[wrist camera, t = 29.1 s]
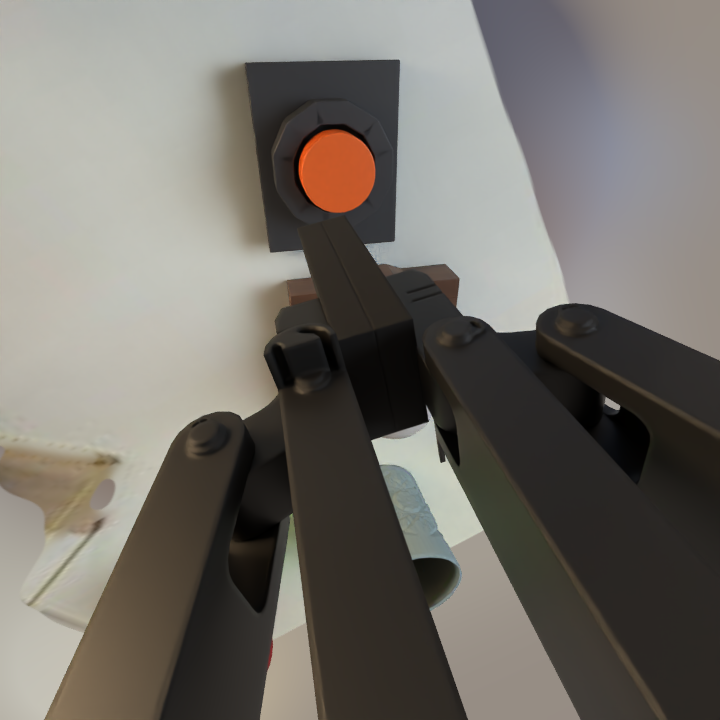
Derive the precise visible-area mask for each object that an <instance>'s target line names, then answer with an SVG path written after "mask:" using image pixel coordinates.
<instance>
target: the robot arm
mask: <svg viewBox="0 0 720 720" xmlns="http://www.w3.org/2000/svg"><path fill="white" fill-rule="evenodd" d="M297 230H298V234H299V237H300V240H301V244H302V247H303V251H304V254H305V257H306V261H307V264H308V267H309V271H310V274H311V278H312V281H313V284H314V288H315V291H316V294H317V298H316V299H313V300H309V301H306V302H302V303H299V304H296V305H292V306H289V307H285V308H282V309H281V310H280V312H279V314H278V316H277V318H276V320H275V325H276V332H277V335H276V336H275V337H273V338H272V339H271V340H270V342H269V343H268V344H267V345H266V347H265V351H264V357H265V360H266V362H267V364H268V367H269V369H270V372H271V374H272V376H273V379H274V381H275V384H276V386H277V388H278V393H279V394H278V395H277V396H276V398H275V399H274V400H273V401H272V402H271V403H270V404H269V405H268V406H266V407H265V408H263V409H262V410H260V411H259V412H257V413H255V414H253V415H252V416H250V417H248V418H246V419H245V420H242V419H241V417H240V416H239V415H237V414H234V413H232V412H215V413H211V414H208V415H204V416H202V417H200V418H198V419H197V420H195V421H193V422H191V423H190V424H188V425H187V426H186V427H185V428H184V429H183V430H182V431H180V432H179V434H178V435H177V436H176V438H175V439H174V441H173V442H172V444H171V446H170V448H169V450H168V453H167V455H166V457H165V459H164V461H163V463H162V466H161V468H160V470H159V472H158V474H157V476H156V479H155V481H154V483H153V485H152V487H151V489H150V492H149V494H148V496H147V498H146V500H145V502H144V505H143V507H142V509H141V511H140V513H139V515H138V518H137V520H136V522H135V524H134V526H133V528H132V531H131V533H130V535H129V537H128V539H127V541H126V544H125V546H124V548H123V550H122V552H121V554H120V557H119V559H118V561H117V563H116V565H115V567H114V570H113V572H112V574H111V576H110V578H109V580H108V583H107V585H106V587H105V589H104V591H103V593H102V596H101V598H100V600H99V602H98V604H97V606H96V609H95V611H94V613H93V615H92V617H91V619H90V622H89V624H88V626H87V628H86V630H85V632H84V635H83V637H82V639H81V641H80V643H79V646H78V648H77V650H76V652H75V654H74V657H73V659H72V661H71V663H70V665H69V667H68V669H67V672H66V674H65V676H64V678H63V680H62V682H61V685H60V687H59V689H58V691H57V693H56V695H55V698H54V700H53V702H52V704H51V706H50V708H49V711H48V713H47V715H46V717H45V719H44V720H260V713H261V707H262V700H263V694H264V688H265V680H266V675H267V668H268V661H269V655H270V648H271V642H272V635H273V629H274V622H275V616H276V609H277V602H278V596H279V589H280V583H281V576H282V570H283V563H284V557H285V550H286V543H287V537H288V530H289V524H290V517H289V515H291V514H292V513H293V516H294V524H295V532H296V541H297V549H298V557H299V565H300V573H301V581H302V590H303V598H304V606H305V614H306V622H307V630H308V639H309V647H310V655H311V663H312V672H313V680H314V688H315V696H316V704H317V713H318V720H468V719H467V716H466V713H465V710H464V707H463V704H462V701H461V699H460V696H459V693H458V690H457V687H456V684H455V681H454V678H453V675H452V672H451V670H450V667H449V664H448V661H447V658H446V655H445V652H444V650H443V646H442V644H441V641H440V638H439V635H438V632H437V629H436V626H435V623H434V620H433V618H432V615H431V612H430V609H429V606H428V603H427V600H426V597H425V595H424V592H423V589H422V586H421V583H420V580H419V577H418V574H417V571H416V569H415V566H414V563H413V560H412V557H411V554H410V551H409V548H408V546H407V543H406V540H405V537H404V534H403V531H402V528H401V525H400V522H399V520H398V517H397V514H396V511H395V508H394V505H393V502H392V499H391V497H390V494H389V491H388V488H387V485H386V482H385V479H384V476H383V473H382V471H381V468H380V465H379V462H378V459H377V456H376V453H375V450H374V448H373V445H372V442H371V440H373V439H376V438H380V437H383V436H386V435H389V434H392V433H395V432H399V431H402V430H405V429H408V428H411V427H414V426H418V425H421V424H424V423H427V422H429V420H428V413H427V408H428V410H429V412H430V413H431V415H432V417H433V419H434V424H435V431H436V438H437V445H438V452H439V457H440V462H441V463H442V462H445V455H446V457H447V459H448V461H449V463H450V465H451V467H452V469H453V471H454V473H455V475H456V477H457V479H458V481H459V482H460V484H461V486H462V488H463V490H464V492H465V494H466V496H467V498H468V500H469V502H470V504H471V506H472V508H473V510H474V512H475V514H476V516H477V518H478V520H479V522H480V524H481V525H482V527H483V529H484V531H485V533H486V535H487V537H488V539H489V541H490V543H491V545H492V547H493V549H494V551H495V553H496V554H497V557H498V558H499V561H500V563H501V565H502V566H503V568H504V570H505V572H506V574H507V576H508V578H509V580H510V582H511V584H512V586H513V587H514V590H515V592H516V594H517V596H518V598H519V600H520V602H521V604H522V606H523V608H524V609H525V611H526V613H527V615H528V617H529V619H530V621H531V623H532V625H533V627H534V629H535V631H536V633H537V635H538V637H539V639H540V641H541V643H542V645H543V647H544V649H545V651H546V652H547V654H548V656H549V658H550V660H551V662H552V664H553V666H554V668H555V670H556V672H557V674H558V676H559V678H560V680H561V682H562V684H563V686H564V688H565V690H566V691H567V693H568V695H569V697H570V699H571V701H572V703H573V705H574V707H575V709H576V711H577V713H578V715H579V717H580V719H581V720H720V361H719V360H717V359H715V358H712V357H710V356H708V355H706V354H703V353H701V352H699V351H697V350H694V349H692V348H690V347H688V346H685V345H683V344H681V343H679V342H676V341H674V340H672V339H670V338H667V337H665V336H663V335H661V334H658V333H656V332H654V331H652V330H649V329H647V328H645V327H643V326H640V325H638V324H636V323H634V322H631V321H629V320H627V319H625V318H622V317H620V316H618V315H616V314H613V313H611V312H609V311H607V310H604V309H602V308H598V307H595V306H592V305H585V304H577V303H575V304H564V305H558V306H555V307H552V308H549V309H547V310H546V311H544V312H543V313H542V314H540V315H539V317H538V320H537V322H536V330H533V331H523V332H512V333H497V332H495V331H494V330H493V328H492V327H491V326H490V325H489V324H487V323H486V322H484V321H483V320H481V319H478V318H474V317H470V316H463V315H462V314H461V313H460V312H459V311H458V309H457V308H456V307H455V306H454V305H453V304H452V302H451V301H450V300H449V299H448V298H447V297H446V295H445V294H444V293H442V291H441V290H440V288H439V287H438V286H437V285H436V284H435V283H434V281H433V280H432V279H431V278H430V277H429V276H428V274H425V273H423V272H420V271H418V270H415V269H410V270H406V271H403V272H400V273H396V274H393V275H389V276H386V277H385V275H384V274H383V272H382V271H381V269H380V268H379V266H378V265H377V263H376V262H375V260H374V259H373V257H372V256H371V254H370V253H369V251H368V250H367V248H366V247H365V245H364V244H363V242H362V241H361V239H360V238H359V236H358V235H357V233H356V231H355V230H354V228H353V227H352V225H351V224H350V222H349V221H348V219H347V218H346V216H345V215H342V216H339V217H335V218H332V219H328V220H324V221H321V222H317V223H314V224H310V225H307V226H303V227H300V228H297ZM605 397H607V398H609V399H611V400H612V401H614V402H615V403H617V404H619V405H620V410H615V409H613V408H610V407H609V406H607V405H606V404H604V403H605ZM426 406H427V407H426Z"/></svg>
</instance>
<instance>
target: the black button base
mask: <svg viewBox="0 0 720 720" xmlns="http://www.w3.org/2000/svg"><path fill="white" fill-rule="evenodd" d="M245 69H246V76H247V84H248V91H249V98H250V106H251V113H252V121H253V128H254V136H255V143H256V151H257V158H258V166H259V173H260V181H261V188H262V196H263V203H264V211H265V218H266V226H267V233H268V241H269V248H270V252H282V251H293V250H303V247H302V244H301V240H300V237H299V234H298V230H297V228H300V227H303V226H307V225H310V224H314V223H317V222H321V221H324V220H328V219H332V218H335V217H339V216H342V215H345V216H346V218H347V219H348V221H349V222H350V224H351V225H352V227H353V228H354V230H355V231H356V233H357V235H358V236H359V238H360V239H361V241H362V242H363V244H370V243H381V242H392V241H395V209H396V175H397V141H398V106H399V72H400V60H359V61H305V62H252V63H245ZM329 129H339V130H343V131H346V132H348V133H350V134H352V135H354V136H355V137H357V138H358V139H359V140H361V141H362V142H363V143H364V144H365V145H366V146H367V147H368V149H369V151H370V152H371V154H372V157H373V160H374V163H375V181H374V185H373V188H372V190H371V192H370V194H369V196H368V197H367V198H366V200H365V201H364V202H363V203H362V204H361V205H359V206H358V207H356V208H355V209H353V210H350V211H347V212H343V213H333V212H328V211H325V210H323V209H321V208H319V207H318V206H316V205H315V204H314V203H313V202H312V201H311V200H310V198H309V197H308V196H307V194H306V192H305V190H304V188H303V186H302V184H301V181H300V178H299V172H298V164H299V158H300V155H301V152H302V150H303V148H304V146H305V145H306V143H307V142H308V141H309V140H310V139H311V138H312V137H313V136H314V135H316V134H318V133H320V132H322V131H325V130H329Z"/></svg>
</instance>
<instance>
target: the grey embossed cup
mask: <svg viewBox="0 0 720 720" xmlns="http://www.w3.org/2000/svg"><path fill="white" fill-rule="evenodd" d="M380 468H381V471H382V473H383V476H384V479H385V482H386V485H387V488H388V491H389V494H390V497H391V499H392V502H393V505H394V508H395V511H396V514H397V517H398V520H399V522H400V525H401V528H402V531H403V534H404V537H405V540H406V543H407V546H408V548H409V551H410V554H411V557H412V560H413V563H414V566H415V569H416V571H417V574H418V577H419V580H420V583H421V586H422V589H423V592H424V595H425V597H426V600H427V603H428V606H429V609H430V611H431V610H433V609H435V608H436V607H438V606H440V605H441V604H442V603H444V602H445V601H446V600H447V599H449V598H450V597H451V595H452V594H453V593H454V591H455V590H456V588H457V587H458V585H459V583H460V581H461V577H462V573H461V569H460V566H459V564H458V562H457V560H456V558H455V557H454V555H453V553H452V551H451V550H450V548H449V546H448V544H447V543H446V541H445V540H444V539H443V535H442V534H441V533H440V532H439V531H438V530H437V523H436V521H435V518H434V516H433V515H432V513H431V512H430V509H429V507H428V505H427V504H426V503H425V500H424V498H423V496H422V493H421V491H420V489H419V487H418V485H417V483H416V481H415V479H414V478H413V476H412V475H411V474H410V473H409V472H408V471H407V470H405V469H404V468H402V467H399V466H395V465H381V466H380Z"/></svg>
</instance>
